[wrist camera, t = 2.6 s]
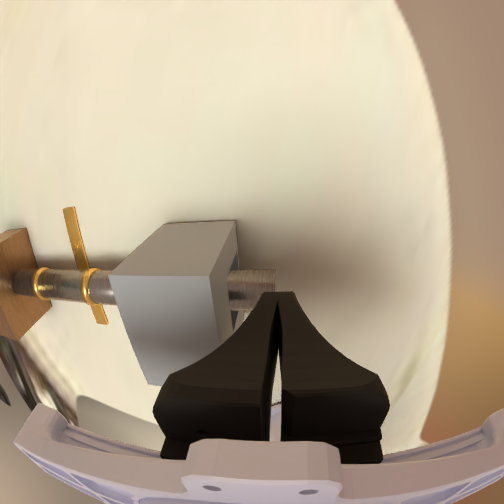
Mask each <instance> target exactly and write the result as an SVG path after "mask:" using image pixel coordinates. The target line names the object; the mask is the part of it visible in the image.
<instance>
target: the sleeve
mask: <svg viewBox="0 0 504 504" xmlns="http://www.w3.org/2000/svg"><path fill="white" fill-rule="evenodd" d="M230 270H240V268H239V256H238V245H237V234H236V222H235V221H213V222H192V223H173V224H163V225H162V226H161V227H160V228H159V229H157V230H156V231H155V232H154V233H153V234H152V235H151V236H150V237H148V238H147V239H146V240H145V241H144V242H143V243H142V244H141V245H140V246H138V247H137V248H136V249H135V250H134V251H133V252H132V253H131V254H130V255H129V256H128V257H127V258H126V259H124V260H123V261H122V262H121V263H120V264H119V265H118V266H117V267H116V268H115V269H114V270H113V271H112V272H111V273H110V274H109V275H108V277H109V281H110V284H111V287H112V291H113V294H114V297H115V300H116V303H117V306H118V309H119V312H120V315H121V318H122V321H123V323H124V326H125V329H126V332H127V334H128V337H129V340H130V342H131V345H132V347H133V350H134V352H135V355H136V357H137V360H138V362H139V364H140V367H141V369H142V371H143V374H144V376H145V378H146V380H147V383H148V384H150V385H156V386H163V384H164V382H165V381H166V379H167V377H168V376H169V374H171V373H174V372H176V371H178V370H181V369H183V368H185V367H187V366H189V365H191V364H193V363H195V362H197V361H199V360H200V359H202V358H204V357H205V356H207V355H208V354H210V353H211V352H213V351H214V350H215V349H217V348H218V347H219V346H220V345H222V344H223V343H224V342H225V341H226V340H227V339H228V338H229V337H230V336H231V335H232V334H233V333H234V332H235V331H236V330H237V329H238V328H239V327H240V326H241V324H242V323H243V319H244V310H230V304H229V296H228V287H227V277H228V274H229V271H230Z"/></svg>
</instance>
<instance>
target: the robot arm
mask: <svg viewBox="0 0 504 504" xmlns="http://www.w3.org/2000/svg"><path fill="white" fill-rule="evenodd" d="M278 348H279V359H280V370H281V381H282V393H281V404H278V405H275V406H271V402H272V390H273V383H274V376H275V369H276V363H277V355H278ZM389 407H390V403H389V399H388V395H387V392H386V390H385V388H384V386H383V384H382V382H381V380H380V378H379V376H378V375H377V374H375V373H373V372H371V371H369V370H367V369H365V368H363V367H361V366H360V365H358V364H356V363H355V362H353V361H351V360H350V359H348V358H347V357H345V356H344V355H343V354H342V353H340V352H339V351H338V350H336V349H335V348H334V347H333V346H332V345H331V344H330V343H329V342H328V341H327V340H326V339H325V338H324V337H323V336H322V335H321V334H320V333H319V332H318V331H317V329H316V328H315V327H314V326H313V324H312V323H311V322H310V320H309V319H308V317H307V316H306V314H305V313H304V311H303V310H302V308H301V306H300V304H299V302H298V300H297V298H296V296H295V293H294V292H264V293H262V295H261V297H260V299H259V301H258V302H257V304H256V305H255V307H254V309H253V310H252V311H251V313H250V314H249V316H248V317H247V318H246V320H245V321H244V322H243V323H242V324H241V326H240V327H239V328H238V329H237V330H236V331H235V332H234V333H233V334H232V335H231V336H230V337H229V338H228V339H227V340H226V341H225V342H224V343H223V344H222V345H220V346H219V347H218V348H217V349H215V350H214V351H213V352H211V353H210V354H208V355H207V356H205V357H204V358H202V359H200V360H199V361H197V362H195V363H193V364H191V365H189V366H187V367H185V368H183V369H181V370H178V371H176V372H174V373H171V374H169V376H168V377H167V379H166V381H165V382H164V384H163V386H162V388H161V390H160V392H159V394H158V397H157V399H156V401H155V404H154V406H153V414H154V417H155V419H156V421H157V423H158V424H159V426H160V428H161V430H162V431H163V433H164V435H165V436H166V438H165V441H164V444H163V447H162V450H161V452H160V451H156V450H151V449H147V448H143V447H139V446H135V445H131V444H128V443H124V442H121V441H117V440H114V439H111V438H107V437H104V436H101V435H98V434H95V433H93V432H90V431H87V430H84V429H82V428H79V427H76V426H74V425H71V424H69V423H68V422H67V420H66V419H65V418H64V416H63V415H62V414H61V413H59V412H58V411H57V410H55V409H53V408H50V407H48V406H46V405H44V404H41V403H38V404H37V405H36V407H35V408H34V410H33V411H32V413H31V414H30V416H29V417H28V419H27V421H26V422H25V424H24V425H23V427H22V428H21V430H20V432H19V433H18V435H17V436H16V438H15V440H14V444H15V445H16V446H17V447H18V448H19V449H20V450H21V451H22V452H23V453H25V454H26V455H27V456H28V457H29V458H30V459H31V460H32V461H33V462H35V463H36V464H37V465H38V466H39V467H40V468H42V469H43V470H44V471H45V472H47V473H48V474H50V475H52V476H54V477H56V478H57V479H59V480H61V481H63V482H65V483H66V484H68V485H70V486H72V487H74V488H76V489H78V490H79V491H81V492H84V493H85V494H87V495H90V496H92V497H94V498H96V499H98V500H100V501H102V502H104V503H107V504H452V503H454V502H456V501H458V500H460V499H462V498H464V497H467V496H469V495H471V494H473V493H474V492H477V491H479V490H481V489H482V488H484V487H486V486H488V485H490V484H492V483H494V482H496V481H497V480H499V479H500V478H501V477H503V476H504V408H503V409H501V410H499V411H497V412H495V413H493V414H492V415H491V416H489V417H488V418H487V419H486V421H485V422H484V423H483V425H482V427H479V428H477V429H474V430H472V431H469V432H466V433H463V434H461V435H458V436H455V437H452V438H449V439H446V440H443V441H439V442H436V443H432V444H429V445H425V446H421V447H418V448H414V449H409V450H405V451H401V452H396V453H391V454H386V455H383V454H382V449H381V444H380V440H381V439H382V434H381V429H380V427H381V425H382V423H383V421H384V419H385V417H386V415H387V413H388V411H389Z"/></svg>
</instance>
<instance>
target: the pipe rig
mask: <svg viewBox="0 0 504 504" xmlns="http://www.w3.org/2000/svg"><path fill="white" fill-rule="evenodd" d="M63 213H64V218H65V222H66V226H67V230H68V235H69V238H70V242H71V246H72V250H73V253H74V257H75V260H76V264H77V267H78V270H52V269H50V268H39V269H38V267H37V264H36V261H35V258H34V255H33V251H32V248H31V244H30V241H29V237H28V234H27V230H26V228H22V229H15V230H8V231H5V232H3V233H2V234H0V335H2V336H5V337H8V338H10V339H13V340H16V341H19V340H20V338H21V337H22V336H23V335H24V334H25V333H26V332H27V331H28V330H29V329H30V328H31V327H32V326H33V325H34V324H35V323H36V322H37V321H38V320H39V319H40V318H41V317H42V316H43V315H44V314H45V313H46V312H47V311H48V310H49V309H50V308H51V307H52V305H51V303H50V300H51V299H54V300H63V301H72V302H82V303H86V304H88V305H90V306H91V308H92V311H93V314H94V316H95V319H96V321H97V323H98V324H106V325H107V324H108V321H107V319H106V316H105V313H104V311H103V308H102V305H101V304H105V305H117V303H116V300H115V297H114V294H113V291H112V287H111V284H110V281H109V277H108V275H109V274H110V273H111V272H112V271H113V270H101V269H99V268H89V265H88V261H87V258H86V254H85V250H84V247H83V243H82V239H81V235H80V231H79V226H78V222H77V217H76V213H75V208H74V207H70V208H64V209H63ZM227 287H228V296H229V304H230V310H253V309H254V307H255V305H256V304H257V302H258V301H259V299H260V297H261V295H262V293H264V292H276V271H275V270H230V271H229V274H228V277H227Z"/></svg>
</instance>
